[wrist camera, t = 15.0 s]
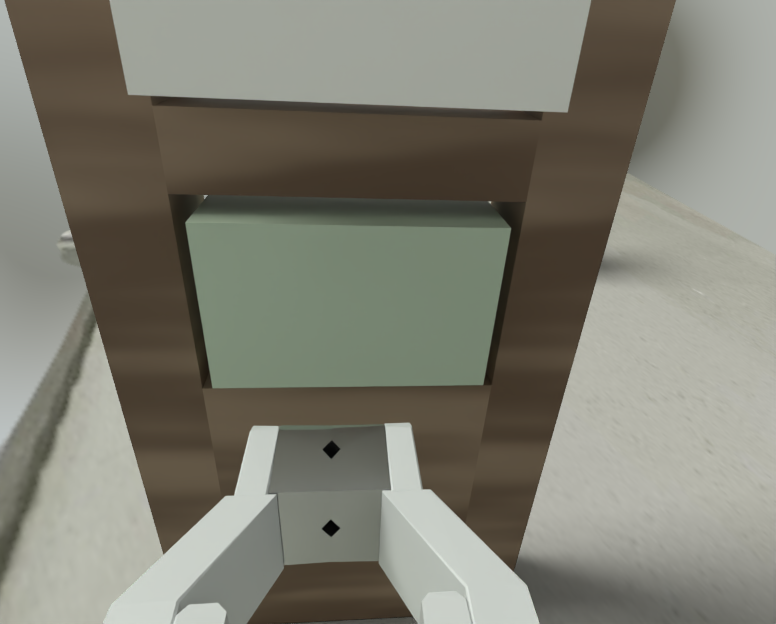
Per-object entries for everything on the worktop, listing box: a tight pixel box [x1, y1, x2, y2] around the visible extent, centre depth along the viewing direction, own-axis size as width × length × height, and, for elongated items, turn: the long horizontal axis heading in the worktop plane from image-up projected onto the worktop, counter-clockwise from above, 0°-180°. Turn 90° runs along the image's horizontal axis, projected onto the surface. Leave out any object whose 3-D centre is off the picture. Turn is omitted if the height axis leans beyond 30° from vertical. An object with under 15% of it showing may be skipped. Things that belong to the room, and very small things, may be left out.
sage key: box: [185, 195, 511, 388], centre depth 15 cm, size 4×8×5 cm, turn 94°
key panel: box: [5, 0, 676, 624], centre depth 14 cm, size 3×14×37 cm, turn 94°
